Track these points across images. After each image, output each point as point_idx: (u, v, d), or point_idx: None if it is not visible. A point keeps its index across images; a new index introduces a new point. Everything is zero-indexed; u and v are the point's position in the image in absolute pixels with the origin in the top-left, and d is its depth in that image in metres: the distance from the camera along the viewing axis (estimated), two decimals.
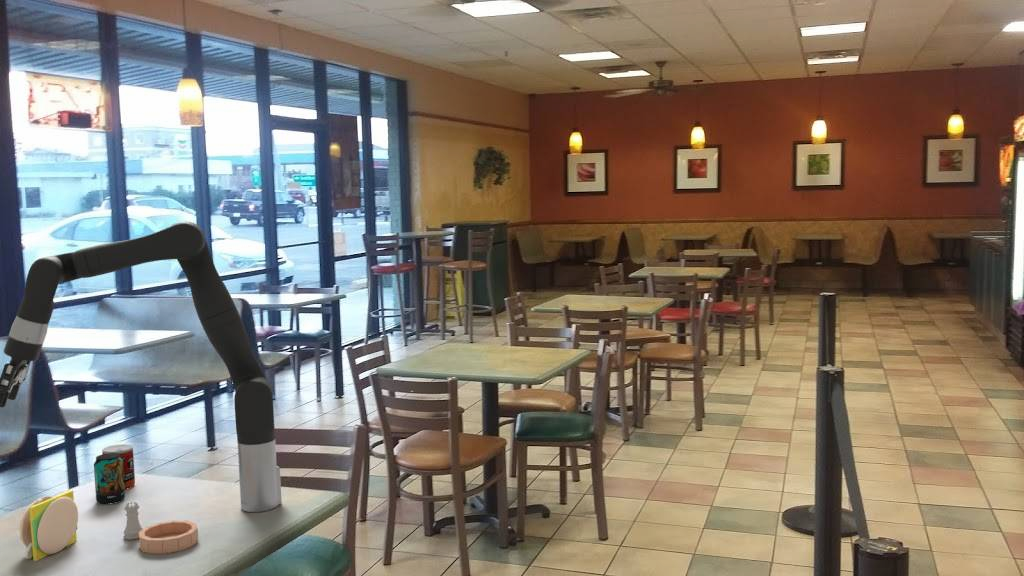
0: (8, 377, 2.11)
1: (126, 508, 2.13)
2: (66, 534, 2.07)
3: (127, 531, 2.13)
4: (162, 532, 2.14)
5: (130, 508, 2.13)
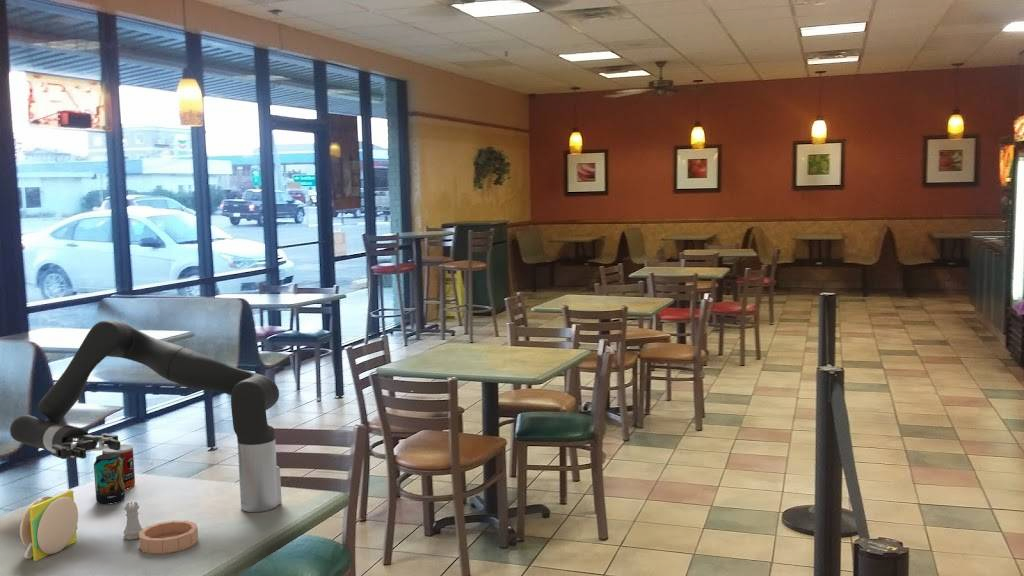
0: (56, 450, 2.18)
1: (126, 508, 2.13)
2: (66, 534, 2.07)
3: (127, 531, 2.13)
4: (162, 532, 2.14)
5: (130, 508, 2.13)
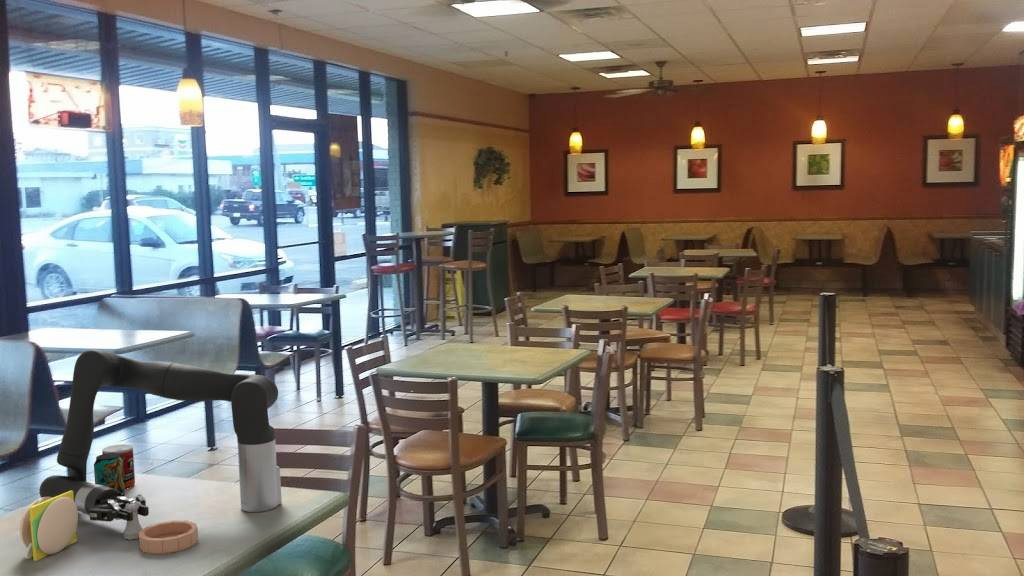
0: (98, 513, 2.12)
1: (126, 508, 2.13)
2: (66, 534, 2.07)
3: (127, 531, 2.13)
4: (162, 532, 2.14)
5: (130, 508, 2.13)
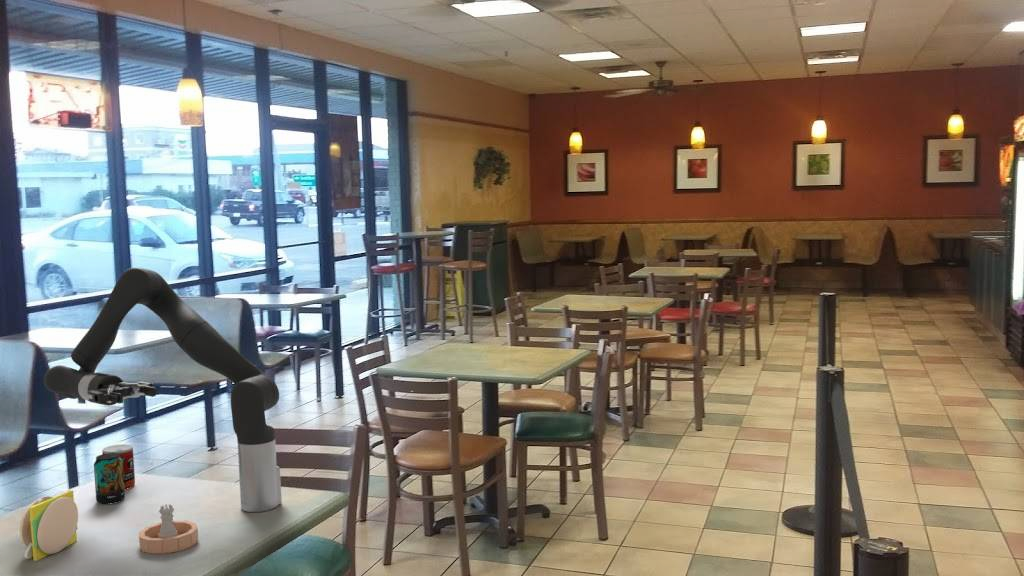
0: (92, 395, 2.18)
1: (161, 511, 2.08)
2: (66, 534, 2.07)
3: (162, 534, 2.08)
4: None
5: (165, 511, 2.08)
